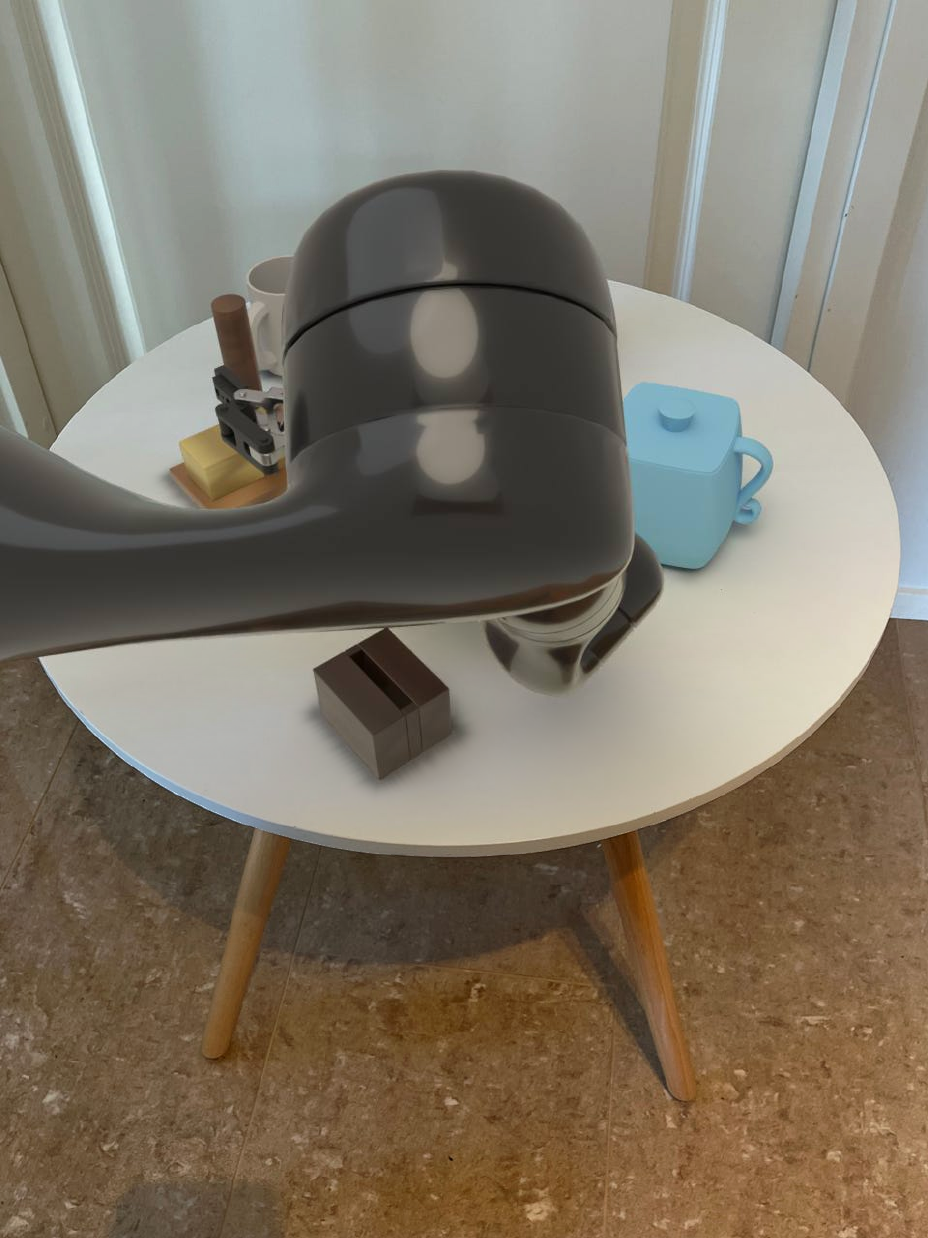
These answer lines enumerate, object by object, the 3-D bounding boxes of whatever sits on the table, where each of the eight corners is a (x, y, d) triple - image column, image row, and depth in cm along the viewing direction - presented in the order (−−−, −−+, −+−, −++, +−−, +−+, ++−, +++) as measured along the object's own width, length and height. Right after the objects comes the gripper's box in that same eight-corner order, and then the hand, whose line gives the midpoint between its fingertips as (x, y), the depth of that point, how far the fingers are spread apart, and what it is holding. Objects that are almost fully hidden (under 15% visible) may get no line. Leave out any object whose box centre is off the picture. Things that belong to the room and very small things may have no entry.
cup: (351, 353, 103) (341, 268, 97) (281, 403, 98) (266, 317, 92) (296, 330, 106) (283, 247, 100) (225, 378, 101) (207, 293, 94)
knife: (262, 481, 88) (229, 322, 78) (233, 452, 91) (196, 295, 80) (289, 468, 90) (259, 310, 79) (259, 440, 92) (226, 283, 81)
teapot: (559, 452, 92) (564, 337, 84) (767, 495, 88) (795, 377, 79) (513, 544, 84) (515, 427, 76) (740, 596, 80) (768, 478, 71)
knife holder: (379, 781, 69) (372, 735, 65) (321, 715, 73) (312, 668, 69) (452, 735, 71) (449, 688, 68) (392, 673, 75) (386, 626, 72)
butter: (217, 527, 86) (205, 483, 83) (172, 479, 91) (159, 435, 87) (349, 463, 92) (343, 419, 88) (300, 420, 96) (293, 377, 93)
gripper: (486, 373, 68) (346, 276, 77) (299, 461, 63) (172, 346, 72) (487, 464, 74) (356, 364, 83) (315, 553, 68) (195, 435, 77)
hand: (271, 356), depth 77 cm, fingers open, 8 cm apart
